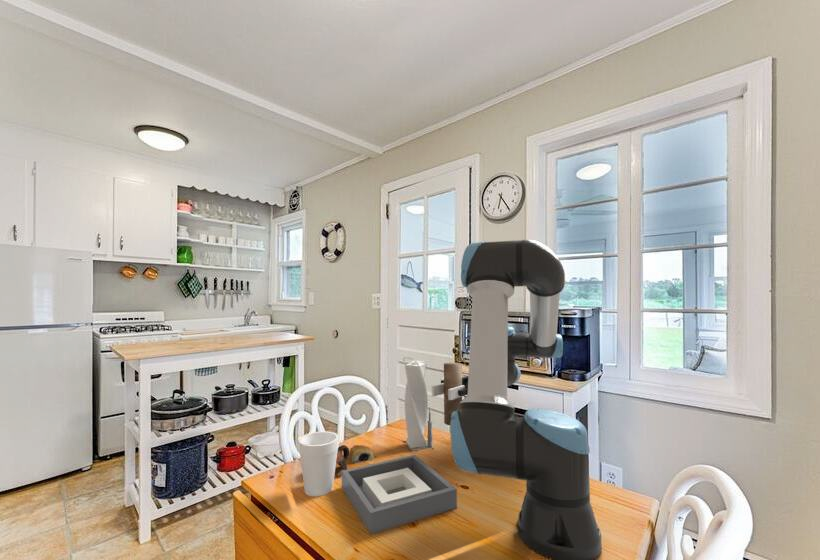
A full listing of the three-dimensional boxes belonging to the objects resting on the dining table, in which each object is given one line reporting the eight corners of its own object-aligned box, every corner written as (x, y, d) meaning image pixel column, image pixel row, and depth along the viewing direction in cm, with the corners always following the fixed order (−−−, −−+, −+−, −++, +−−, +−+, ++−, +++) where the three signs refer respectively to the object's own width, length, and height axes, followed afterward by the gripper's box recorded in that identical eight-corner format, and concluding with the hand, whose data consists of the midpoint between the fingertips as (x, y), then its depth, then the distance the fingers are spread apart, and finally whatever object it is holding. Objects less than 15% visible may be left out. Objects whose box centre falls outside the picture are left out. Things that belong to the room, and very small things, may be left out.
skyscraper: (407, 452, 113) (407, 359, 114) (400, 442, 120) (400, 355, 122) (434, 449, 115) (433, 357, 116) (425, 439, 123) (424, 354, 124)
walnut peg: (466, 423, 102) (465, 364, 103) (450, 426, 100) (449, 366, 101) (455, 418, 106) (455, 362, 107) (440, 421, 104) (440, 363, 105)
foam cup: (291, 493, 90) (291, 438, 90) (324, 479, 97) (324, 428, 97) (312, 508, 83) (312, 449, 84) (346, 492, 90) (346, 438, 91)
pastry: (345, 453, 113) (345, 441, 113) (367, 450, 115) (367, 437, 116) (352, 467, 104) (352, 453, 104) (376, 463, 107) (376, 449, 107)
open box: (456, 512, 82) (456, 488, 82) (370, 539, 73) (370, 513, 73) (414, 473, 99) (414, 454, 100) (341, 491, 91) (341, 470, 91)
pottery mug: (336, 489, 93) (319, 460, 93) (313, 496, 97) (297, 468, 98) (363, 459, 103) (348, 432, 103) (341, 466, 108) (327, 441, 108)
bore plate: (431, 503, 83) (431, 489, 84) (381, 517, 78) (381, 503, 78) (408, 479, 94) (407, 467, 94) (362, 491, 89) (362, 478, 89)
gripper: (514, 396, 110) (469, 414, 93) (464, 386, 123) (416, 401, 106) (513, 370, 111) (468, 383, 94) (463, 363, 123) (416, 374, 106)
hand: (441, 393), depth 100 cm, fingers closed on walnut peg, 5 cm apart
